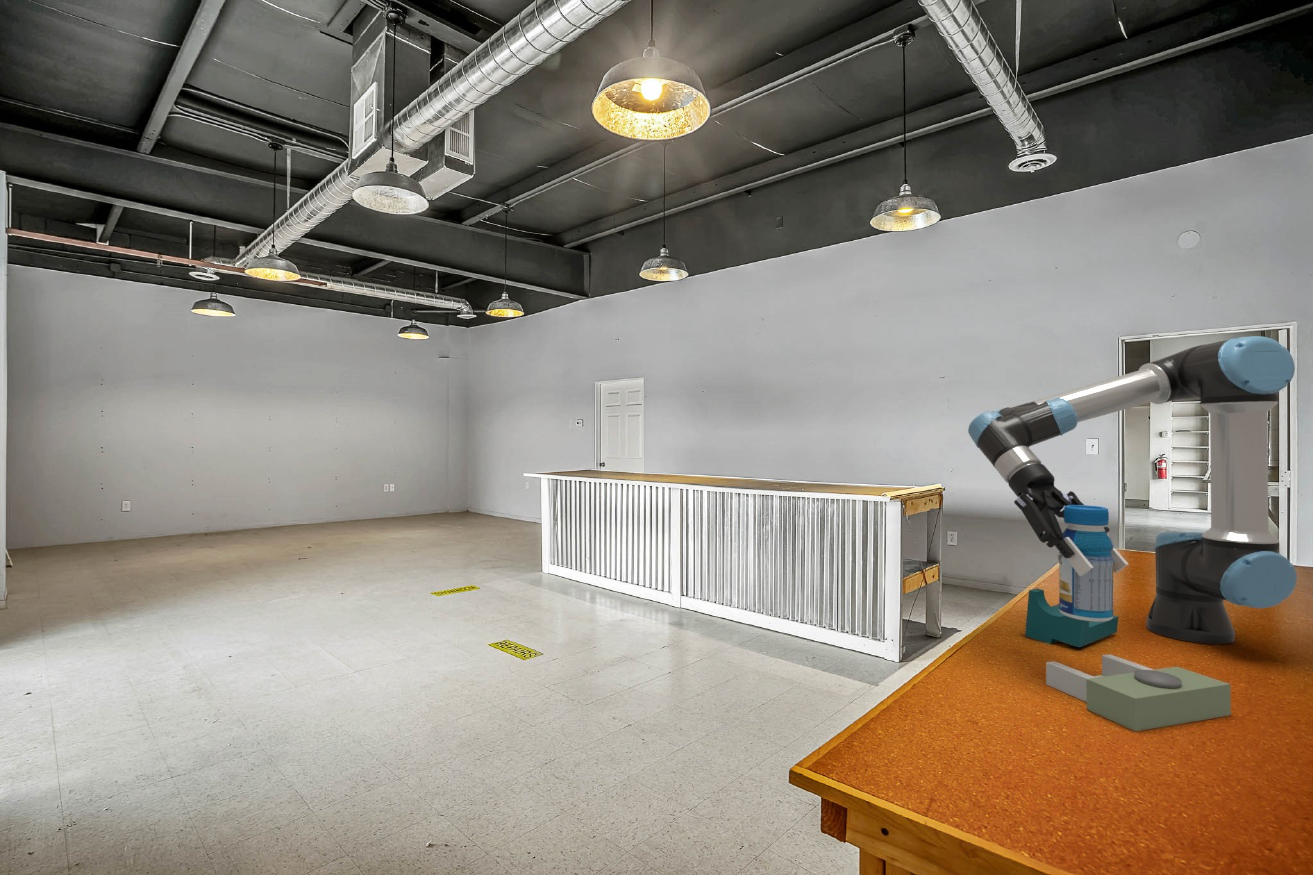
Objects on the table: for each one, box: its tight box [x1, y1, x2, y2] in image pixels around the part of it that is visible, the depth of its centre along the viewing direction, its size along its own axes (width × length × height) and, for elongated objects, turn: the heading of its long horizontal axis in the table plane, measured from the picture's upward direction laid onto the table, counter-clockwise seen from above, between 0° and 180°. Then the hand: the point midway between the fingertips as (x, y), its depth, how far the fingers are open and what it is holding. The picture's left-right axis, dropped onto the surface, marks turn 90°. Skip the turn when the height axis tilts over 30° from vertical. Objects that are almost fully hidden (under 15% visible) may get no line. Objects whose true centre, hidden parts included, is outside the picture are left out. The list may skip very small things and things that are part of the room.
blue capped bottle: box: [1057, 504, 1115, 622], centre depth 113 cm, size 8×8×20 cm
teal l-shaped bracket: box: [1024, 587, 1119, 648], centre depth 138 cm, size 18×11×10 cm, turn 123°
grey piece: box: [1045, 653, 1232, 732], centre depth 105 cm, size 20×18×6 cm
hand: (1104, 570), depth 110 cm, fingers closed on blue capped bottle, 8 cm apart
